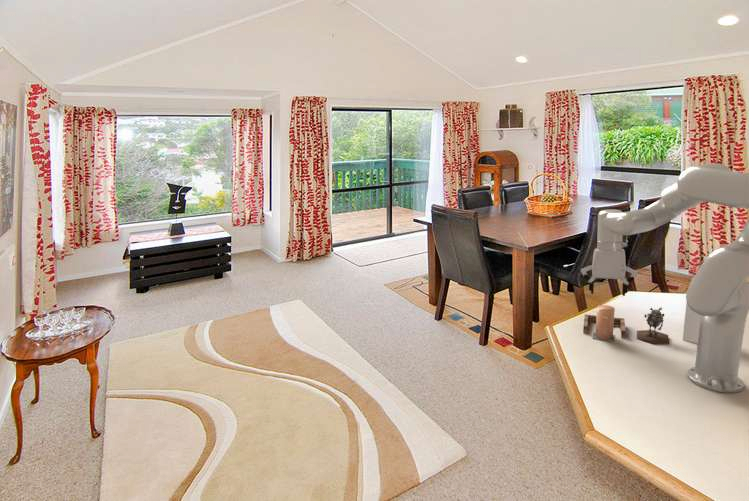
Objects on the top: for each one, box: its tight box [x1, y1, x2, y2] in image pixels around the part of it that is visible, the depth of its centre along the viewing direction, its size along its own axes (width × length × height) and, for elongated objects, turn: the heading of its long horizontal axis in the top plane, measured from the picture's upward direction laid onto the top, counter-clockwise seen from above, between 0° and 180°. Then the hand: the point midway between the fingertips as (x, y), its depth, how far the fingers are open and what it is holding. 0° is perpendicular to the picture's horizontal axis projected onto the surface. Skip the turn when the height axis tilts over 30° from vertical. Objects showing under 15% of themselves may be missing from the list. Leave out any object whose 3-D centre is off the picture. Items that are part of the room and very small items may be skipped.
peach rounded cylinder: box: [595, 304, 615, 341], centre depth 151 cm, size 6×8×11 cm
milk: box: [682, 276, 702, 345], centre depth 144 cm, size 6×6×22 cm
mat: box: [592, 332, 616, 342], centre depth 153 cm, size 5×7×1 cm
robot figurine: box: [636, 306, 670, 345], centre depth 149 cm, size 11×9×12 cm
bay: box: [582, 314, 627, 339], centre depth 159 cm, size 12×13×3 cm
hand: (607, 293), depth 149 cm, fingers open, 9 cm apart
